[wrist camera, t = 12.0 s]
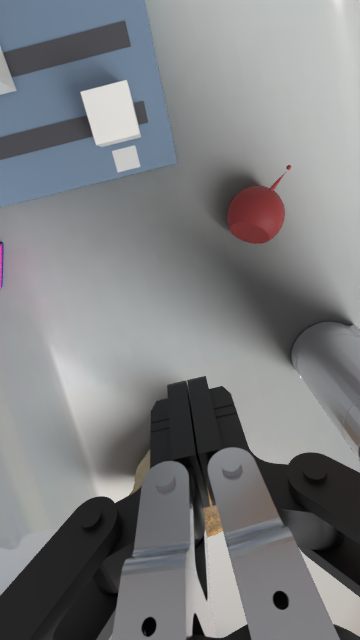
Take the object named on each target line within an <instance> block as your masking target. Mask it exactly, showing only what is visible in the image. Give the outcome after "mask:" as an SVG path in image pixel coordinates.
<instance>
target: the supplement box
mask: <svg viewBox="0 0 360 640" xmlns="http://www.w3.org/2000/svg"><path fill="white" fill-rule="evenodd" d="M3 245H4V244H3V243H2V242H0V289H1V288H2V278H3Z"/></svg>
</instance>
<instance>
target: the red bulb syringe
mask: <svg viewBox="0 0 360 640" xmlns="http://www.w3.org/2000/svg"><path fill="white" fill-rule="evenodd" d="M290 168H291V166H290V165H288V166H287V169H288V170H289V169H290ZM285 173H286V172H285ZM285 173H284V174H285ZM284 174H283V175H282V176H281V177H280V178H279V179H278V180H277V181H276V182H275V183H274V184H273V185H272V187H271V188H267V187H264V186H252V187H248V188H246V189H244V190H242V191H241V192H239V193H238V194H237V195H236V196H235V197H234V198H233V200H232V202H231V203H230V206H229V208H228V213H227V221H228V226H229V228H230V231H231V232H232V234H233V235H234V236H236V237H237V238H239V239H241V240H243V241H246V242H250V243H264V242H267V241H269V240H270V239H272V238H273V237H274V236H275V235H276V234H277V233H278V232H279V230H280V229H281V227H282V224H283V221H284V216H285V210H284V205H283V202H282V200H281V198H280V197H279V195H278V194H277V193H276V192H274V191H273V190H274V189H275V187H276V186H277V184H278V183H279V181H280V180H281V178H282V177H283V176H284Z"/></svg>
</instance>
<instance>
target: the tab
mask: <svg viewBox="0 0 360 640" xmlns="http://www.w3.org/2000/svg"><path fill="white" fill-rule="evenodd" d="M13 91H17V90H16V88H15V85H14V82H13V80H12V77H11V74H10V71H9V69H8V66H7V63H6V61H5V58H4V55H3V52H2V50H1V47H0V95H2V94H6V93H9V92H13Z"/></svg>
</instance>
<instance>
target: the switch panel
mask: <svg viewBox="0 0 360 640" xmlns="http://www.w3.org/2000/svg"><path fill="white" fill-rule="evenodd" d="M0 47H1V50H2V52H3V55H4V58H5V61H6V63H7V66H8V69H9V71H10V74H11V77H12V80H13V82H14V85H15V88H16V90H17V91H13V92H9V93H6V94H2V95H0V207H3V206H7V205H12V204H16V203H20V202H24V201H28V200H32V199H36V198H40V197H44V196H48V195H52V194H56V193H60V192H64V191H68V190H72V189H76V188H80V187H84V186H88V185H92V184H96V183H100V182H104V181H108V180H112V179H116V178H120V177H124V176H128V175H132V174H136V173H140V172H144V171H148V170H152V169H156V168H160V167H164V166H168V165H172V164H176V163H178V162H177V157H176V152H175V147H174V142H173V137H172V132H171V127H170V123H169V118H168V113H167V108H166V103H165V98H164V93H163V88H162V83H161V78H160V74H159V69H158V64H157V59H156V54H155V49H154V44H153V39H152V34H151V30H150V25H149V20H148V15H147V10H146V5H145V0H0ZM124 80H127V82H128V85H129V88H130V92H131V96H132V100H133V105H134V109H135V113H136V117H137V121H138V125H139V129H140V134H141V138H137V139H133V140H129V141H125V142H121V143H117V144H113V145H109V146H105V147H100V146H97V145H96V143H95V140H94V137H93V133H92V130H91V127H90V123H89V120H88V116H87V113H86V110H85V106H84V103H83V100H82V96H81V93H80V92H82V91H85V90H89V89H93V88H97V87H101V86H105V85H109V84H112V83H116V82H120V81H124Z"/></svg>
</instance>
